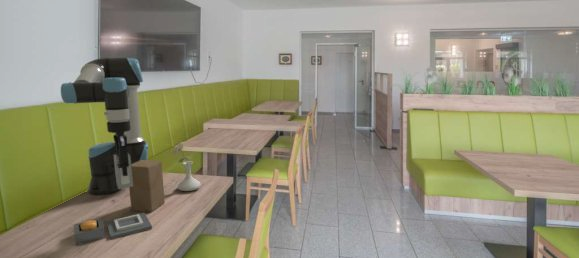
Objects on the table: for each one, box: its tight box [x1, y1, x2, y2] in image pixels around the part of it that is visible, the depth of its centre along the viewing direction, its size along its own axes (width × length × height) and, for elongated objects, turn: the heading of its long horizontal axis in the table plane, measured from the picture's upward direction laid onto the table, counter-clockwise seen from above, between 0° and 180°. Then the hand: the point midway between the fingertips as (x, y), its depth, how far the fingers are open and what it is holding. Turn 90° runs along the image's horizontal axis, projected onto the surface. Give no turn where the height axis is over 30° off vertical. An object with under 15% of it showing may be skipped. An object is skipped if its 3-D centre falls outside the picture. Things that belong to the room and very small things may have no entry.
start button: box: [80, 219, 97, 231], centre depth 121 cm, size 5×5×3 cm
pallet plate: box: [106, 212, 153, 240], centre depth 128 cm, size 14×14×2 cm
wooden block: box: [128, 159, 166, 213], centre depth 144 cm, size 10×10×20 cm
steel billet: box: [114, 153, 133, 190], centre depth 124 cm, size 5×5×12 cm
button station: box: [73, 217, 106, 246], centre depth 121 cm, size 9×9×4 cm
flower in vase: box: [172, 141, 202, 192], centre depth 164 cm, size 13×11×25 cm
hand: (124, 181), depth 125 cm, fingers closed on steel billet, 5 cm apart
